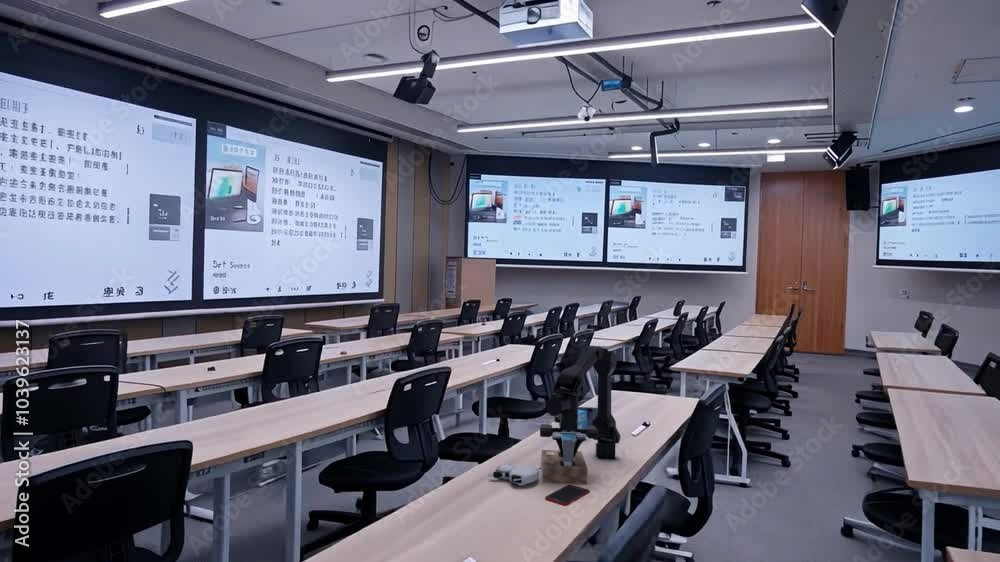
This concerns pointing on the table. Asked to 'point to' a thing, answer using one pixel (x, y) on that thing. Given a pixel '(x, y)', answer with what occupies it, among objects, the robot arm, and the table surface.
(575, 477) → the socket box
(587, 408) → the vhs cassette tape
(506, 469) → the robot toy
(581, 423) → the data package
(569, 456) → the plug
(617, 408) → the table surface
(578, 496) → the cell phone
